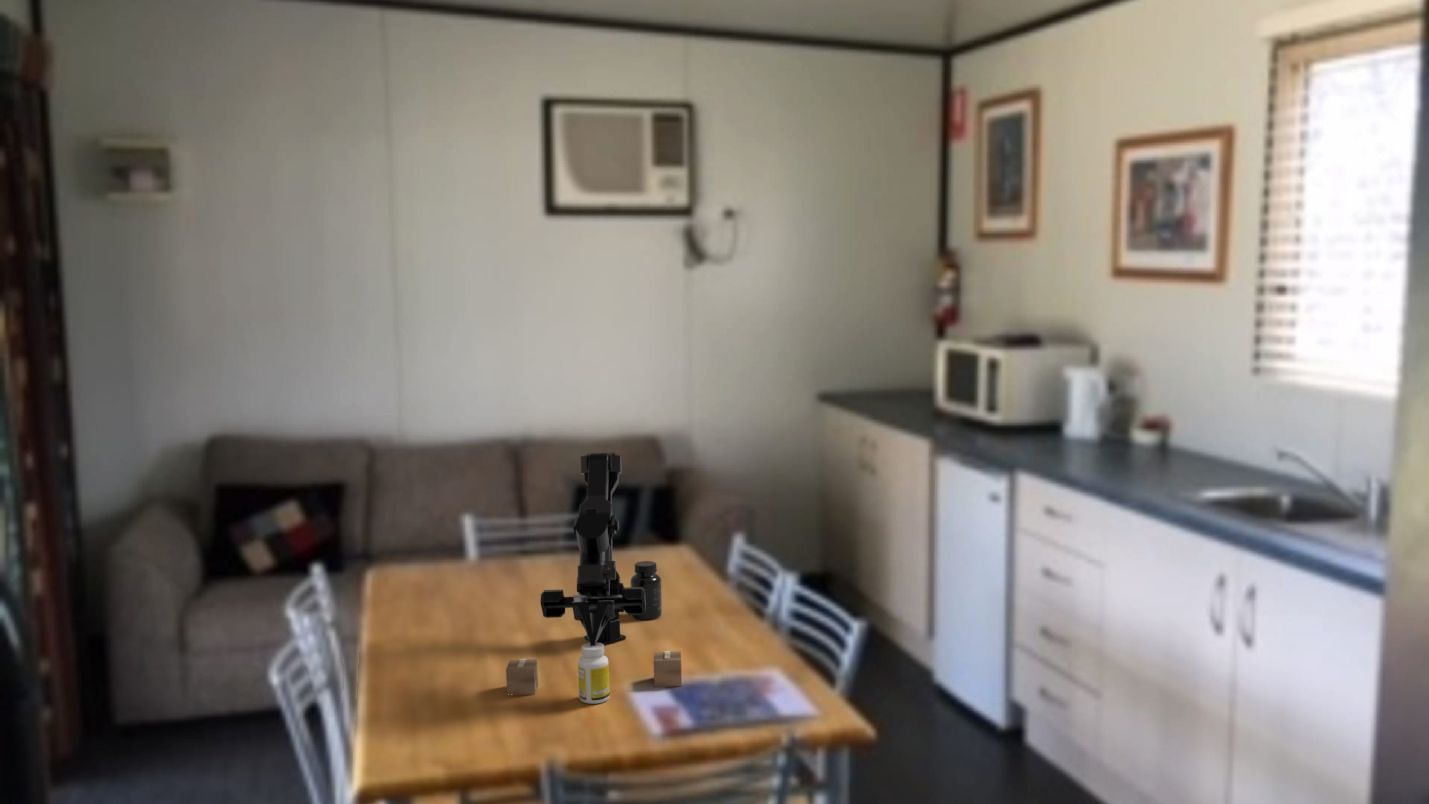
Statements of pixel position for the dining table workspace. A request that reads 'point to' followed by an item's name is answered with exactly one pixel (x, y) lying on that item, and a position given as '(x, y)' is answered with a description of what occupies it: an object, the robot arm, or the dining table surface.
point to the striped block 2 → (667, 669)
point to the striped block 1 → (522, 677)
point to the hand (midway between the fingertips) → (592, 644)
